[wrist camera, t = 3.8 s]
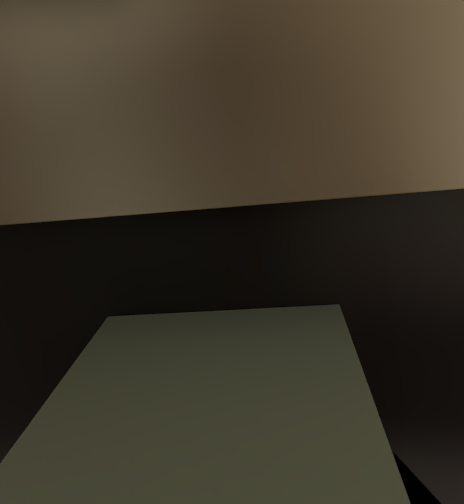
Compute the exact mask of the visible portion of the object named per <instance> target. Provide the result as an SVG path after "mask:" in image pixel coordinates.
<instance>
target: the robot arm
mask: <svg viewBox="0 0 464 504" xmlns="http://www.w3.org/2000/svg"><path fill="white" fill-rule="evenodd" d="M392 453H393V456H394V459H395V462H396V464H397V467H398V470H399V473H400V476H401V478H402V481H403V484H404V487H405V490H406V492H407V495H408V498H409V501H410V504H441V503H440V502H439V501H438V500H437V499H436V497H435V496H434V495H433V494H432V493H431V492H430V491H429V490H428V489H427V488H426V487H425V486H424V485H423V483H422V482H421V481H420V480H419V479H418V478H417V477H416V476H415V475H414V474H413V473H412V472H411V470H410V469H409V468H408V467H407V466H406V465H405V464H404V463H403V462H402V461H401V460H400V459H399V458H398V456H397V455H396V454H395V453H394V452H393V451H392Z"/></svg>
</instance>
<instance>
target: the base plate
mask: <svg viewBox="0 0 464 504" xmlns="http://www.w3.org/2000/svg"><path fill="white" fill-rule="evenodd" d="M462 188H464V0H0V225H9V224H21V223H34V222H47V221H59V220H72V219H84V218H97V217H110V216H122V215H135V214H147V213H160V212H173V211H185V210H198V209H210V208H223V207H236V206H248V205H261V204H273V203H286V202H299V201H311V200H324V199H336V198H349V197H362V196H374V195H387V194H399V193H412V192H425V191H437V190H450V189H462Z"/></svg>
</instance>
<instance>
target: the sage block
mask: <svg viewBox="0 0 464 504" xmlns="http://www.w3.org/2000/svg"><path fill="white" fill-rule="evenodd" d="M0 504H410V501H409V498H408V495H407V492H406V490H405V487H404V484H403V481H402V478H401V476H400V473H399V470H398V467H397V464H396V462H395V459H394V456H393V453H392V450H391V448H390V445H389V442H388V439H387V436H386V434H385V431H384V428H383V425H382V422H381V420H380V417H379V414H378V411H377V408H376V406H375V403H374V400H373V397H372V394H371V392H370V389H369V386H368V383H367V380H366V378H365V375H364V372H363V369H362V366H361V364H360V361H359V358H358V355H357V353H356V350H355V347H354V344H353V341H352V339H351V336H350V333H349V330H348V327H347V325H346V322H345V319H344V316H343V313H342V311H341V308H340V305H339V304H335V305H316V306H297V307H278V308H259V309H240V310H221V311H202V312H184V313H165V314H146V315H127V316H108V317H107V319H106V320H105V321H104V323H103V324H102V325H101V327H100V328H99V329H98V331H97V332H96V334H95V335H94V336H93V338H92V339H91V340H90V342H89V343H88V344H87V346H86V347H85V349H84V350H83V351H82V353H81V354H80V355H79V357H78V358H77V359H76V361H75V362H74V364H73V365H72V366H71V368H70V369H69V370H68V372H67V373H66V374H65V376H64V377H63V379H62V380H61V381H60V383H59V384H58V385H57V387H56V388H55V389H54V391H53V392H52V394H51V395H50V396H49V398H48V399H47V400H46V402H45V403H44V404H43V406H42V407H41V409H40V410H39V411H38V413H37V414H36V415H35V417H34V418H33V419H32V421H31V422H30V424H29V425H28V426H27V428H26V429H25V430H24V432H23V433H22V434H21V436H20V437H19V439H18V440H17V441H16V443H15V444H14V445H13V447H12V448H11V449H10V451H9V452H8V454H7V455H6V456H5V458H4V459H3V460H2V462H1V463H0Z"/></svg>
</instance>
